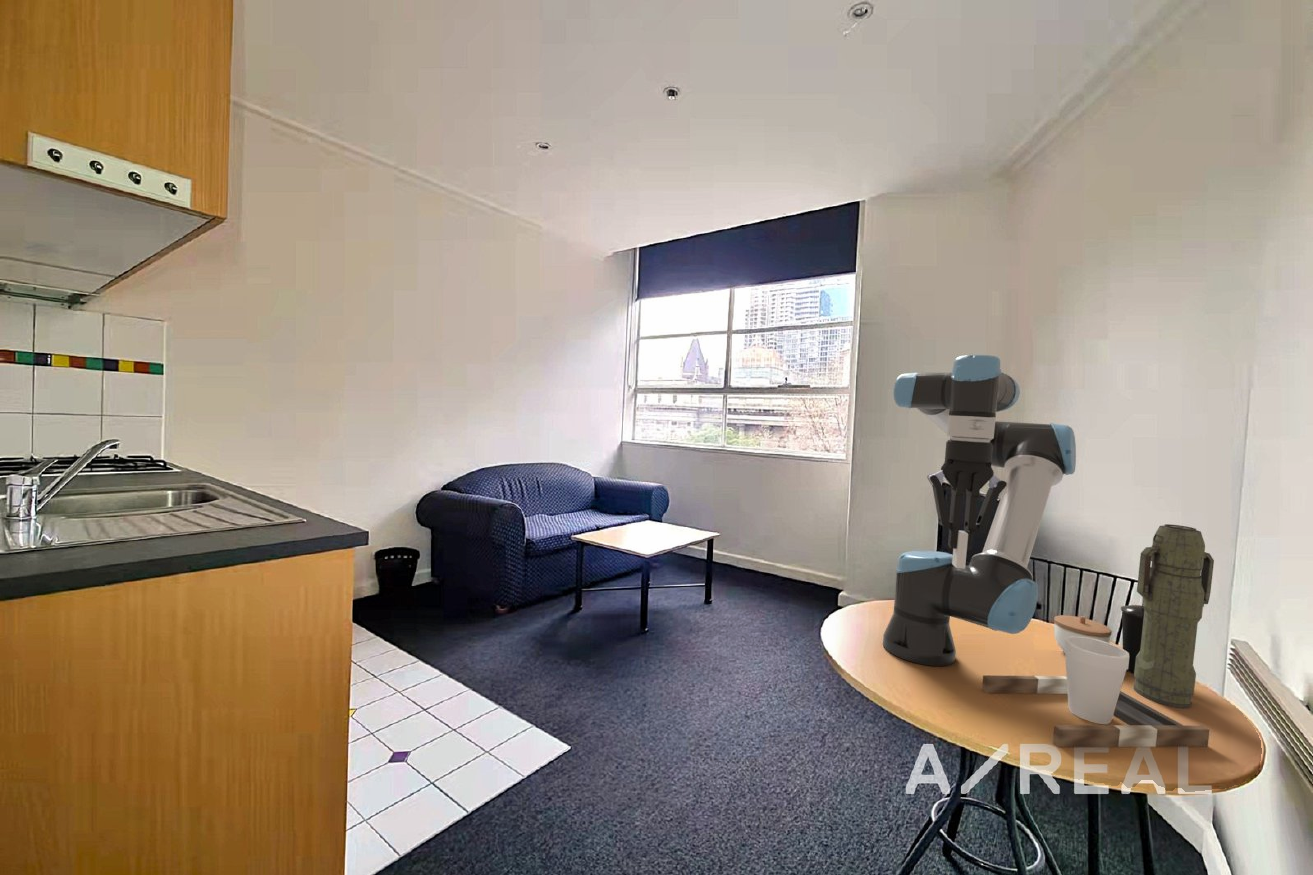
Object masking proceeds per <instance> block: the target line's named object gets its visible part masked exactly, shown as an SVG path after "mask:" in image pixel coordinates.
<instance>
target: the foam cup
mask: <svg viewBox="0 0 1313 875" xmlns="http://www.w3.org/2000/svg"><path fill="white" fill-rule="evenodd" d="M1063 653H1064V656H1065V672H1066V674H1065V676H1067V692H1068V694H1067V704H1068V705H1067V706H1068V710H1069V711H1070V712H1071V714H1072V715H1074V716H1076V717H1078V718H1080V719H1083V720H1085V721H1087V722H1091V723H1095V724H1101V725H1108V724H1110V723H1112V720H1113V717H1114V715H1113V714H1114V711H1115V707H1116V704H1117V700H1118V697H1119V693H1120V691H1122V686H1123V683H1124V679H1125V676H1126V673H1127V671H1126V670H1127V669H1128V665H1129V653H1128V652H1127V651H1125V650H1124V649H1123V647H1120V646H1117V645H1115V644H1113V643H1107V642H1104V641H1101V640H1097V639H1092V638H1087V637H1080V636H1069V637H1066V638H1065V647H1064V652H1063Z"/></svg>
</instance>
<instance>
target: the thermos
mask: <svg viewBox="0 0 1313 875" xmlns="http://www.w3.org/2000/svg"><path fill="white" fill-rule="evenodd" d="M1205 551H1206V543H1205V540H1204V538H1203V534H1202V531H1201V530H1197V528H1195V527H1191V526H1185V525H1179V524H1178V525H1177V524H1171V523H1170V524H1163V525H1159V527H1158V528H1157V529H1156V531H1155V533H1154V535H1153V537H1152V545H1151V546H1147V547H1144V549H1143V550H1142V551H1141V552H1140V556H1139V557H1140V558H1139V564H1138V565H1139V567H1138V577H1137V584H1136V585H1137V587H1136V592H1137V593H1138V594H1139V595H1140V596H1141V598H1142V599H1143V601H1142V600H1141V606H1143V608H1144V620H1143V630H1142V639H1141V649H1140V652H1139V653H1138V655H1137V656H1136V662H1135V672H1134V674H1133V678H1134V684H1133V690H1134V691H1135V692H1136V693H1137V694H1138V695H1140V696H1142V697H1143V698H1146V699H1148V700H1150V701H1153V702H1155V703H1157V704H1160V705H1165V706H1168V707H1173V708H1180V709H1189V708H1191V707H1192V703H1193V702H1192V699H1193V695H1194V694H1195V686H1196V679H1197V678H1196V677H1197V673H1196V670H1195V668H1194V659H1195V651H1196V643H1197V642H1196V640H1197V632H1198V623H1199V622H1200V621H1201V619H1202V617H1203V610H1204V606H1205V605H1208V604H1209V602H1210V601H1209V600H1210V597H1211V593H1212V592H1211V591H1212V582H1213V573H1214V563H1215V560H1214V558H1213V557H1212V555H1211V554H1210V553H1209V552H1205Z"/></svg>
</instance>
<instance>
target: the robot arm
mask: <svg viewBox="0 0 1313 875" xmlns="http://www.w3.org/2000/svg"><path fill="white" fill-rule="evenodd" d="M1020 392H1021V391H1020V386H1019V384H1018V382H1017V381H1016V379H1014V378H1013V377H1011V376H1010V375H1008V374H1007V373H1004V372H1002V370H1001V359H1000V358H999V357H998V356H995V355H990V354H967V355H960V356H957V357H956V358H955V359H954V360H953V366H952V371H951V372H918V371H915V372H910V373H909V372H908V373H907V372H905V373H902V374H900V375H899V376H897V378H896V379H895V382H894V386H893V399H894V402H895V404H896V405H897V406H898V407H900V408H906V409H907V408H908V409H917V410H918V411H920V412H921V413H922V414H923V415H924V416H926V418H928V419H929V420H930V421H931V422H933V423H934V424H935V425H936V426H937V427H938V428H940V430H942V431H943V432H944V433H945V434H946V436H947V437H949V439H947V441H946V443H945V451H944V454H945V456H944V462H943V464H942V466H941V467H940V470H939V471H937V472H935V473H933V474H932V473H931V474H928V475H927V480H928V481H929V483H930V485H931V487H932V491H933V498H934V504H935V508H936V514H937V520H938V524H939V525H940V526H942V527H943V528H945V529H948V540H947V541H948V542H947V544H948V547H949V548H950V549H952V554H951V553H949V552H945V551H944V552H943V551H938V550H937V551H933V550H910V551H906V552H903V553H901V554H900V555H899V557H898V559H897V560H898V562H897V568H896V571H895V573H896V575H895V587H894V588H895V589H894V600H893V602H894V603H893V612H892V613H893V614H892V615H891V618H890V620H889V622H888V624H887V626H886V629H885V630H884V633H883V636H882V638H883V639H882V645H883V647H884V649H885V651H886V650H887V651H888V652H889V653H890V654H892V655H894V656H896V657H897V658H901V659H903V660H905V661H908V662H911V663H913V664H919V665H922V666H923V665H925V666H931V667H932V666H933V667H946V666H951V665H952V664H954V663H955V661H956V655H957V652H956V650H957V649H956V646H955V641H954V637H953V634H952V630H951V627H950V626H951V625H950V620H951V619H950V617H951V618H954V619H957V620H961V621H965V622H968V623H971V624H975V625H978V626H982V627H985V628H987V629H989V630H992V631H995V632H997V631H999V632H1003V633H1007V634H1011V635H1015V634H1019V633H1021V632H1023V631H1024V630H1025V629H1026V628H1027V627H1028V626H1029V624H1030V623H1031V621H1032V619H1033V617H1034V614H1035V611H1036V609H1037V603H1038V600H1039V592H1040V590H1039V585H1038V584H1037V583H1036V582H1035V580H1033V579H1034V576H1033V574H1032V572H1031V570H1029V568H1028V565H1029V562H1030V558H1031V556H1032V551H1033V548H1034V545H1035V543H1036V539H1037V535H1038V532H1039V530H1040V526H1041V522H1042V518H1043V515H1044V512H1045V509H1046V506H1047V502H1048V499H1049V495H1050V493H1051V488H1052V487H1053V486H1056V485H1058V484H1059V483H1061V481H1062V480H1063V478H1064V476H1068V475H1073V474H1074V473H1075V471H1076V464H1077V452H1076V451H1077V450H1076V449H1077V447H1076V437H1075V436H1076V435H1075V431H1074V429H1073V428H1072V427H1070V426H1069V425H1065V424H1057V423H1056V424H1055V423H1053V422H1051V423H1048V424H1047V423H1032V422H1016V421H1000V420H999V421H997V420H996V415H997V413H998V412H1001V411H1006V410H1009V409H1010V408H1012V406H1014V405H1016V403H1017V402H1018V400H1019V397H1020V394H1021V393H1020ZM993 467H996V468H1004V470H1005V472H1006V474H1007V476H1008V477H1007V480H1006V481H1004V480H1002V479H1000V478H998V477H997V476H995V475H994V474H995V472H994V470H993ZM944 478H945V480H946V482H947V483H948V484H949V486H951V487H950V489H951V490H950V492H951V496H950V508H949V515H948V509H947V508H948V507H947V504H946V499H945V493H944V487H943V485H942V484H943V483H944ZM987 483H988V487H989V488H987V492H986V494H985V496H984V499H983V502H982V505H981V506H980V507H981V508H980V510H979V513H978V503H979V497H980V492H981V491H980V490H981V489H982V488H983V487H984V486H985V485H986V484H987ZM964 493H966V500H965V501H966V502H965V510H964V512H965V513H964V523H963V524H964V525H963V529H964V530H960V529H961V528H960V527H961V519H962V517H961V516H962V508H963V498H964V497H963V496H964ZM1001 493H1002V494H1001ZM1000 494H1001V497H1000V500H999V502H997V501H998V499H999V496H1000ZM997 503H998V504H997ZM996 504H997V505H998V506H997V509H996V511H995V514H994V518H993V520H992V522H991V526H990V529H989V531H988V534H987V538H986V540H985V543H984V547H983V548H982V552H980V553H977V554H974V555H973V556H972V557H971V559H970V562H969V564H968V565H966V563H967V562H966V560H967V552H968V551H972V550H973V548H974V539H975V537H974V536H975V535H976V533H978V532H985V531H986V530H987V528H988V525H989V524H990V520H991V517H992V514H993V512H994V510H995V507H996ZM977 514H978V516H977Z"/></svg>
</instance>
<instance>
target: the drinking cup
mask: <svg viewBox="0 0 1313 875" xmlns="http://www.w3.org/2000/svg"><path fill="white" fill-rule="evenodd" d="M1142 601H1143V598H1142V600H1141V602H1142ZM1120 610H1121V622H1122V623H1121V624H1122V625H1121V626H1122V627H1121V628H1122V629H1121V630H1122V634H1121V635H1122V649H1124V650H1125V651H1127V652H1128V653H1129V665H1128V669H1127V670H1126V672H1128V673H1131V674H1133V675H1134V672H1135V662H1136V656H1137V655H1138V653H1139V652H1140V649H1141V639H1142V630H1143V620H1144V608H1143V606H1142V604H1141V605H1140V604H1139V605H1138V604H1131V605H1121V607H1120Z"/></svg>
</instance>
